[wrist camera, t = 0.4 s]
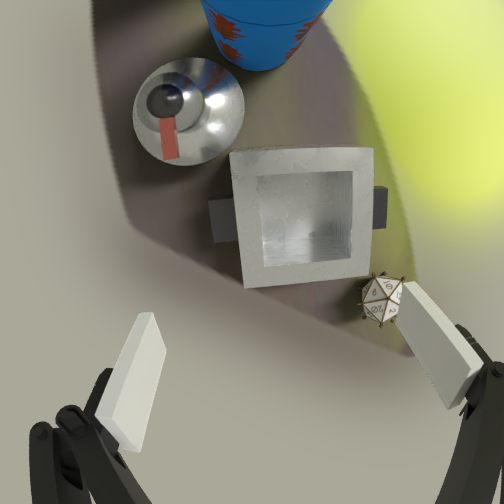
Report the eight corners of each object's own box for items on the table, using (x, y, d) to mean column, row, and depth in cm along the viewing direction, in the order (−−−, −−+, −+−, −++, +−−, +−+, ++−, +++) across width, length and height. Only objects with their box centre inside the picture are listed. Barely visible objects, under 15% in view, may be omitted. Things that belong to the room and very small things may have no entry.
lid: (142, 77, 31) (91, 53, 17) (239, 61, 31) (237, 19, 17) (152, 168, 36) (104, 189, 22) (248, 155, 36) (252, 167, 22)
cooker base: (209, 152, 35) (198, 157, 27) (365, 143, 35) (396, 148, 27) (223, 258, 41) (218, 290, 33) (363, 245, 41) (389, 272, 33)
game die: (363, 285, 48) (356, 338, 43) (353, 257, 42) (346, 317, 37) (411, 283, 43) (410, 338, 38) (409, 254, 38) (410, 316, 32)
